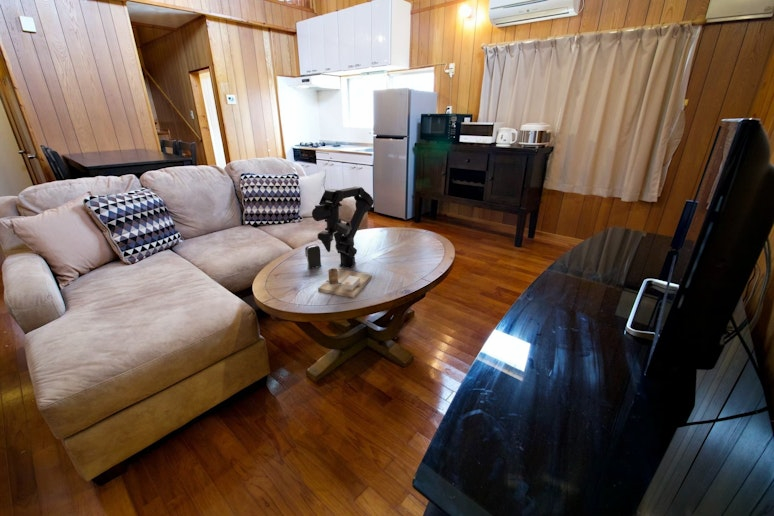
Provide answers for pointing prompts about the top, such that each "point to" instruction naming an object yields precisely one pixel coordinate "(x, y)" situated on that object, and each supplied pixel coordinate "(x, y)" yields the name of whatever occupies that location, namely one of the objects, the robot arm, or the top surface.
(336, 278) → the brown knobbed cylinder
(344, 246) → the robot arm
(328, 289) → the plank
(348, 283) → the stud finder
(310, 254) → the battery charger
